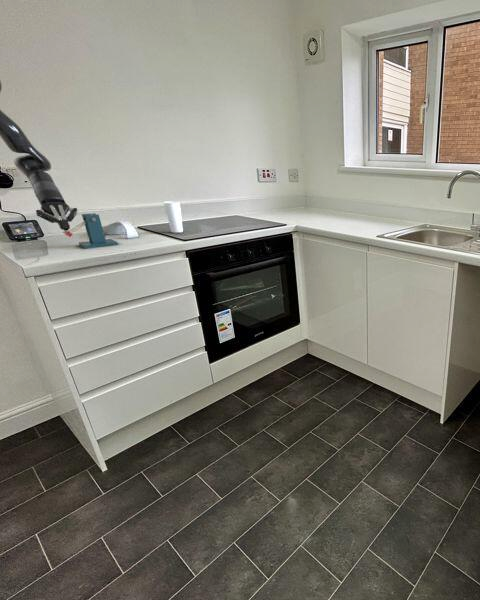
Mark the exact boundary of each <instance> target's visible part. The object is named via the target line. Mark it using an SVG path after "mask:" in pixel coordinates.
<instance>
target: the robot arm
mask: <svg viewBox="0 0 480 600" xmlns="http://www.w3.org/2000/svg"><path fill="white" fill-rule="evenodd" d="M2 88H3V84H2V82H1V80H0V94H1V92H2ZM0 138H1V140H2V142H4V144H5V146H7V148H8V149H9V150H10V151H11V152H13V153H15V154H24V155H18V156H16V157H14V159H13V165H14V166H15V167H16V168H17V170H19V172H20V173H22V174H23V175H24V176H25V177H26V178H27V180H28V181H29V183H30V185H31V187H32V189H33V193H34V195H35V197H36V198H37V200H38V203H39V204H40V209H36V210H35V214H36V216H37V217H39V218H41V219H43V220H45V221H47V222H49V223H51V224H55V223H56V224H57V225H58V226H59V229H60V230H62V231H63V232H64V231H70V230H71V225H70V224H69V223H71V222H73V220H74V219H75V217H76V216H77V214H78V208H77V207H70V205H68V204H67V202H66V201H65V198H64V197H63V195H62V193H61V191H60V189H59V188H58V187H57V185H56V183H55V181H54V179H53V177H52V175H51V174H50V173H48V171H51V169H52V163H51V161H50V160H49V159H48V158H47V157H46V155H44V154H43V153H42V152H40V151H39V150H38V149H37V148H36V147H35V146H34V145H33V144H32V143H31V141H30V139H29V138H28V136H27V135H26V133H25V132H24V131H23V130H22V128H21V127H20V125H18V124H17V122H15V121H14V120H13V119H12V118H10V117H9V115H7V114H6V113H5V112H4V111H2V109H0ZM68 212H69V214H68ZM67 214H68V215H67ZM66 215H67V216H66Z"/></svg>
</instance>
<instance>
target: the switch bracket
mask: <svg viewBox="0 0 480 600" xmlns="http://www.w3.org/2000/svg"><path fill="white" fill-rule="evenodd" d="M91 214H92V215H91ZM81 217H82V222H84V221H86V222H87V224H86V225H84V227H85V230H86V234H87V238H88V241H79V242H78V243H77V244H78V246H80V247H81V248H83V249H94V248H103V247H111V246H118V244H119V242H118V241H116V240H114V239H112V238H106V236H105V233H104V232H103V228H102V226H103V224H102V221H101V217H100V215H99V214H97V213H95V212H94V213H93V212H92V213H81ZM85 218H86V219H85Z"/></svg>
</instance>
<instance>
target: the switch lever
mask: <svg viewBox="0 0 480 600" xmlns="http://www.w3.org/2000/svg"><path fill="white" fill-rule="evenodd" d="M90 214H91V215H92V214H93V213H90ZM85 219H86V218H85ZM86 224H87V222H86V221H82V222H81V223H79V224H78V225H76V226H74V227H73V228H70V229H69V230H66V231H64V230H63V232H62V233H63V234H64V235H65V236H67V237H69V238H70V237H73V236H74V234H73V233H74V232H76V231H78V230H80V229H81V228H83V227H85V225H86Z"/></svg>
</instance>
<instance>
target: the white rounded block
mask: <svg viewBox="0 0 480 600" xmlns="http://www.w3.org/2000/svg"><path fill="white" fill-rule="evenodd" d="M102 228H103V232H104V234H106V235H109V236H110V235H111V236H114V235H115V236H117V235H122V234H124V232H125V235H126V238H127V239H132V238H138V237H139V234H138V231H137V230H136V229H135V227H134V226H133V225H132V224H131V223H130V222H129V221H127V220H124V221H115V222H113V223H109V224H106V225H102Z"/></svg>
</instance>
